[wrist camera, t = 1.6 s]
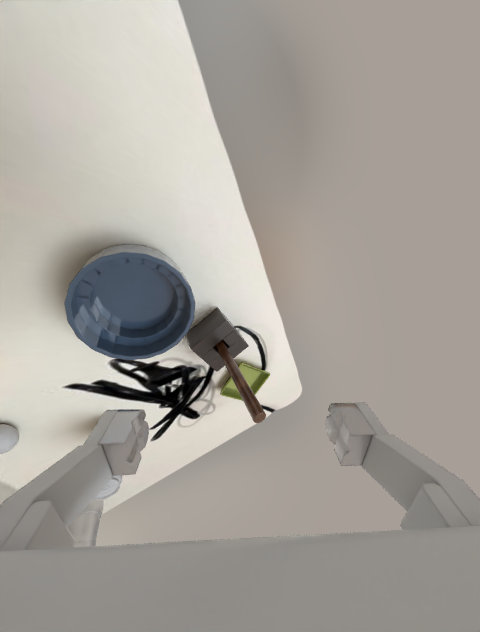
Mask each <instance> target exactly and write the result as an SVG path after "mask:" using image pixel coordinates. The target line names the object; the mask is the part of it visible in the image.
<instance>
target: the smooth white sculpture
mask: <svg viewBox="0 0 480 632" xmlns="http://www.w3.org/2000/svg"><path fill="white" fill-rule="evenodd" d="M18 440H19V433H18V431H17V430H16V429H15V428H14V427H12V426H10V425H6V424H0V454H3V453H5V452H8V451H9V450H11V449H12V448H13V447H14V446H15V445H16V444H17V442H18Z"/></svg>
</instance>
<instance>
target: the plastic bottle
mask: <svg viewBox="0 0 480 632" xmlns="http://www.w3.org/2000/svg"><path fill="white" fill-rule="evenodd" d="M103 506H104V503H103V499H101V500H92V501H91V502H90V503H89V504H88V505H87V506H86V508H85V509H84V510H83V511H82V512H81V513H80V514H79V515H78V516H77V517H76V519H75V520H74V521H73V522H72V523H71V524H70V525H69V526H68V527H67V528H68V529H69V531H70V532H71V534H72V536H73V537H74V540H75V544H74V546H73V547H89V546H95V544H96V536H97V530H98V526H99V521H100V517H101V514H102V510H103Z"/></svg>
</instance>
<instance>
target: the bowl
mask: <svg viewBox="0 0 480 632" xmlns="http://www.w3.org/2000/svg"><path fill="white" fill-rule="evenodd" d="M65 309H66V315H67V320H68V323H69V324H70V326H71V327H72V329H73V331H74V332H75V334H76V335H77V337H78V338H79V339H80V340H81V341H83V342H84V343H85V344H86V345H88V346H89V347H90V348H91V349H93V350H95V351H97V352H99V353H102V354H104V355H106V356H109V357H112V358H119V359H126V360H135V359H147V358H150V357H153V356H156V355H159V354H162V353H165V352H166V351H168V350H169V349H171V348H172V347H174V346H175V345H177V344H178V343H179V342H180V341H181V339H182V338H183V337H184V336H185V335H186V334H187V333H188V331H189V328H190V326H191V324H192V322H193V319H194V312H195V301H194V297H193V293H192V290H191V287H190V285H189V283H188V282H187V280H186V278H185V276H184V275H183V273H182V272H181V270H180V269H179V267H178V266H177V265H176V263H175V262H173V261H172V260H171V259H169V258H168V257H167V256H166V255H164V254H163V253H162V252H159V251H156V250H154V249H151V248H149V247H146V246H140V245H129V244H124V245H119V246H115V247H110V248H106V249H104V250H103V251H101V252H99V253H98V254H96V255H94V256H93V257H91V258H90V259H89V260H88V261H87V263H86V264H85V265H84V266H83V268H82V269H81V270H80V271H79V273H78V274H77V275H76V276H75V278H74V279H73V280H72V282H71V283H70V285H69V288H68V291H67V295H66V299H65Z"/></svg>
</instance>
